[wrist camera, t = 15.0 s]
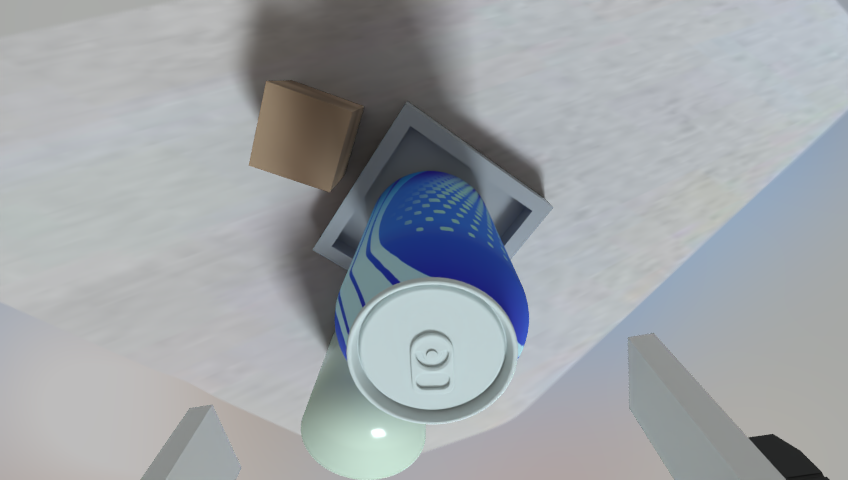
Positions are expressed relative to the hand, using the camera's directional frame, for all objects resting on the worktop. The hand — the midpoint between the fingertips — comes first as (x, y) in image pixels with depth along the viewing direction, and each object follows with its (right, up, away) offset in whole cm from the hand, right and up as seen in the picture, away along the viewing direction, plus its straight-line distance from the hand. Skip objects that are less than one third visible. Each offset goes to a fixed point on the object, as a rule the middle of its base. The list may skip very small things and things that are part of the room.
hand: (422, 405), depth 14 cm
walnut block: (-7, +13, +16) cm, 22 cm away
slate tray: (+1, +7, +18) cm, 20 cm away
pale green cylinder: (-4, -4, +22) cm, 23 cm away
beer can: (+1, +6, +18) cm, 19 cm away
